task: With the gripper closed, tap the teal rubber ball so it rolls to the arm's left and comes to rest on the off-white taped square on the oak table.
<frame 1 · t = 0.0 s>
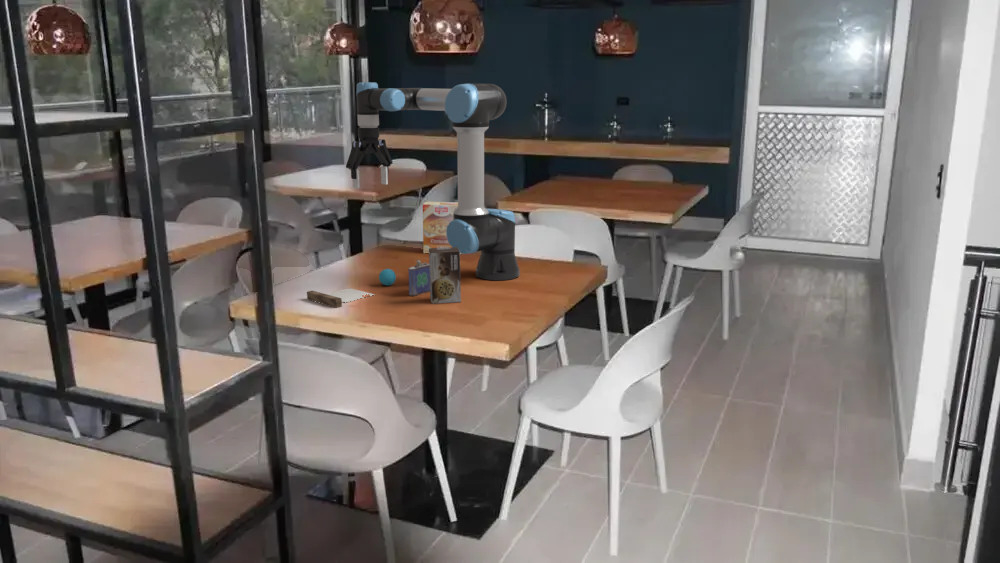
hand: (370, 186, 295), 28 cm above the table, tool pointing down, fingers open, 13 cm apart
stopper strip: (324, 302, 248), on the table
coffeecake box: (443, 252, 318), on the table
flask: (419, 293, 259), on the table
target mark: (347, 295, 256), on the table
cookie box: (445, 301, 251), on the table
ball: (387, 277, 268), on the table
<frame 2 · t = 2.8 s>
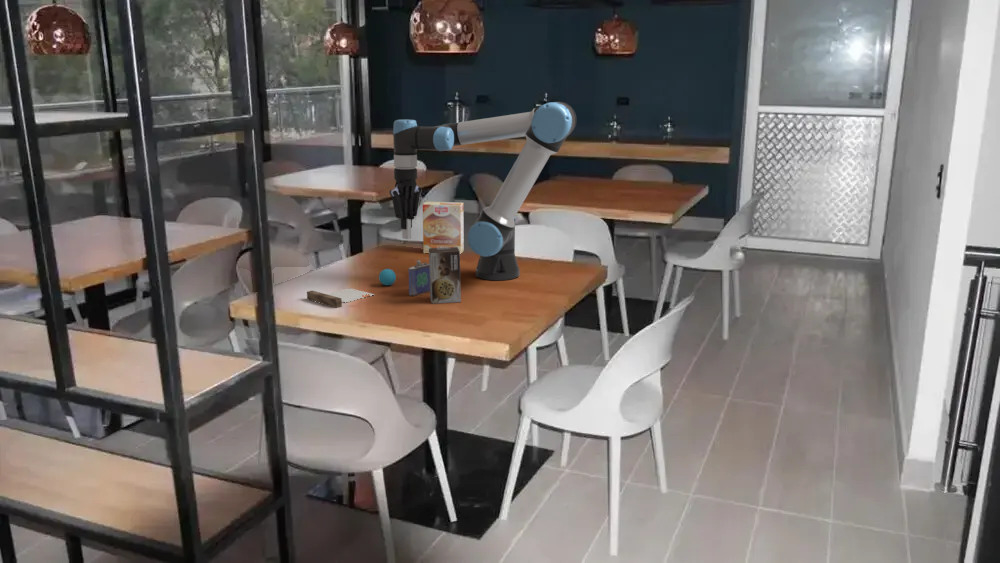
hand: (406, 238, 272), 14 cm above the table, tool pointing down, fingers closed
nothing on the table moved.
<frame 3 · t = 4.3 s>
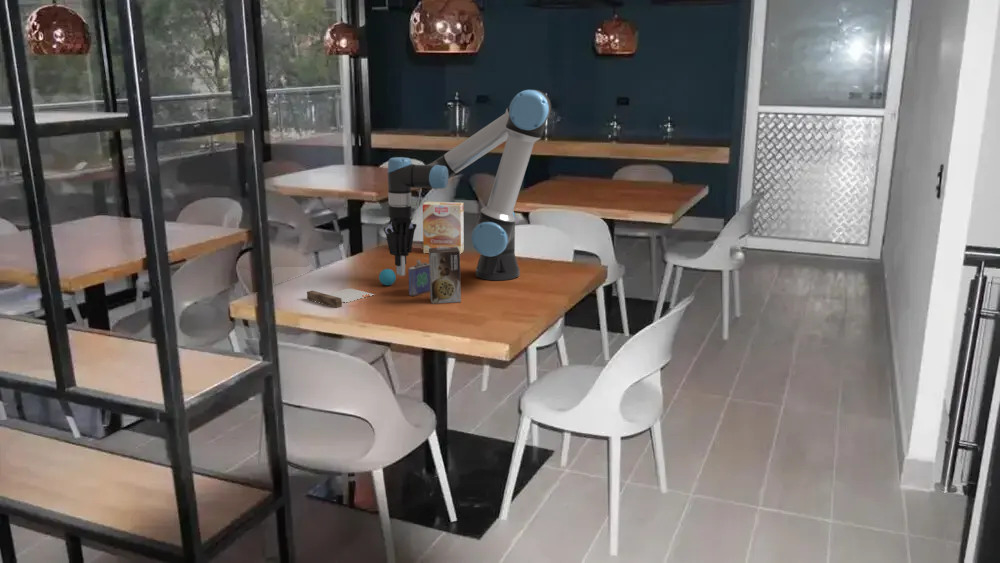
hand: (400, 274, 273), 2 cm above the table, tool pointing down, fingers closed
nothing on the table moved.
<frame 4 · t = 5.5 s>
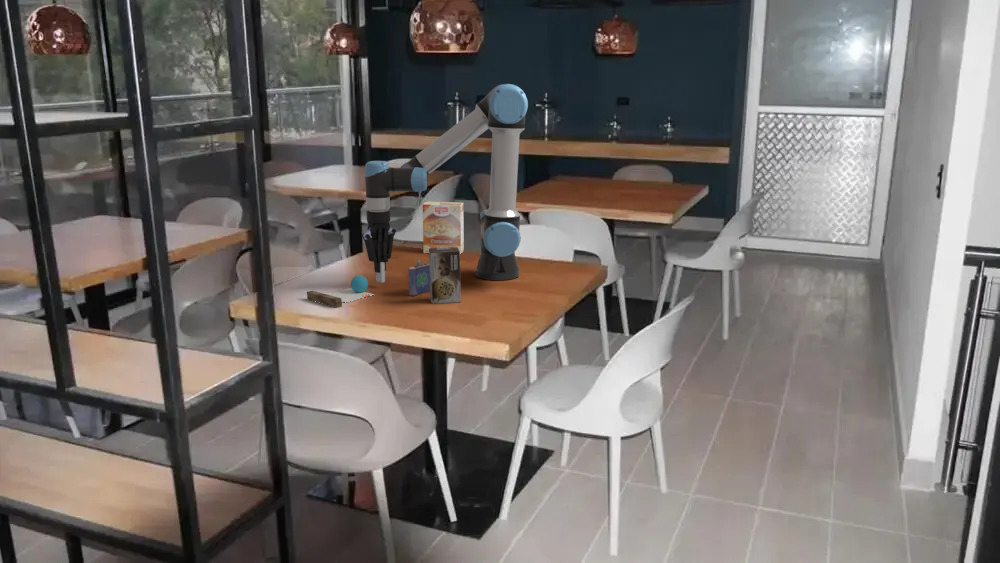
hand: (380, 281, 266), 2 cm above the table, tool pointing down, fingers closed
ball: (359, 284, 259), on the table
everything else where it was.
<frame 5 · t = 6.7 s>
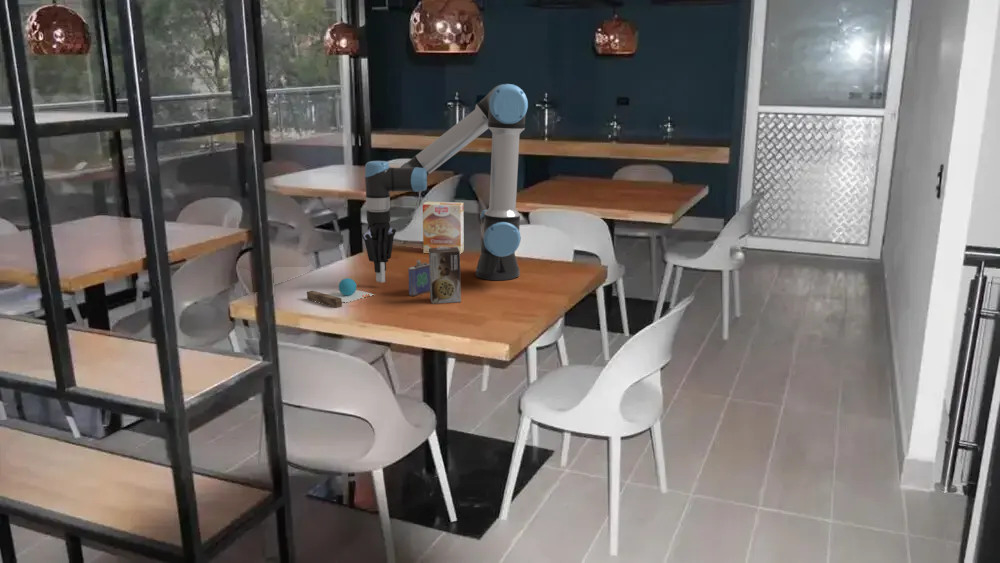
hand: (380, 281, 266), 2 cm above the table, tool pointing down, fingers closed
ball: (347, 286, 255), on the table
everything else where it was.
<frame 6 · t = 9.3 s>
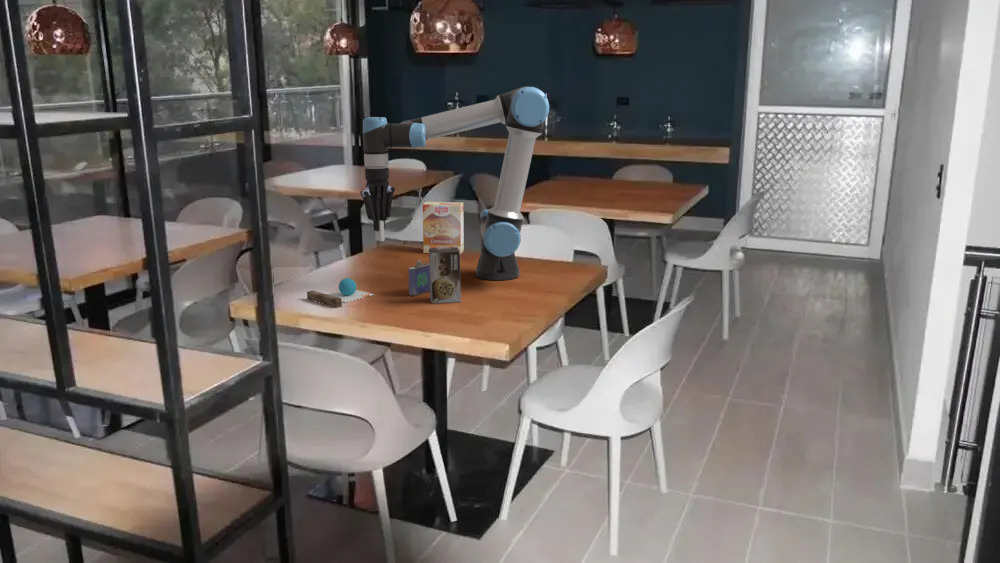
hand: (380, 240, 262), 16 cm above the table, tool pointing down, fingers closed
nothing on the table moved.
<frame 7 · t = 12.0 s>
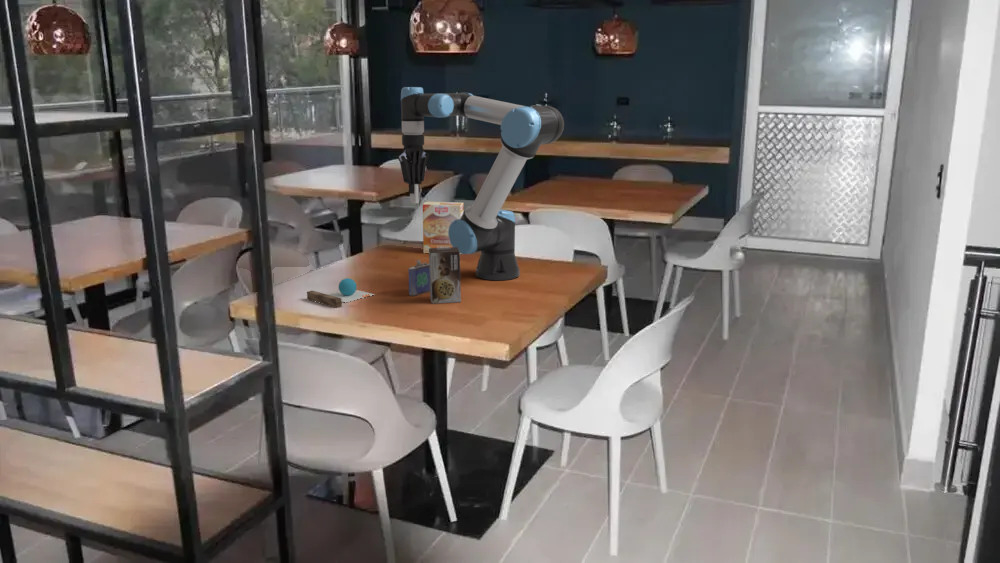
hand: (414, 202, 281), 24 cm above the table, tool pointing down, fingers closed
nothing on the table moved.
at the end: ball 0.4 cm from the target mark (horizontally); ball at rest at the end (0.0 cm/s); ball moved 16.7 cm from its start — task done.
